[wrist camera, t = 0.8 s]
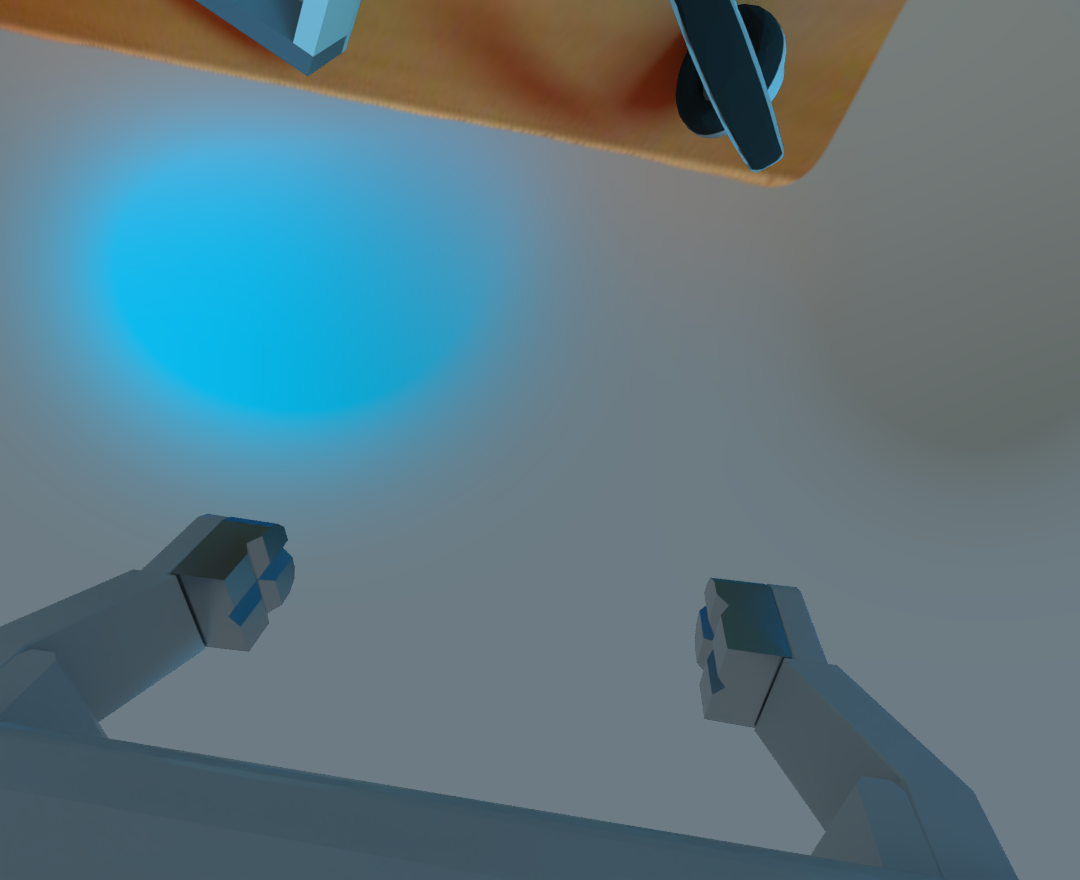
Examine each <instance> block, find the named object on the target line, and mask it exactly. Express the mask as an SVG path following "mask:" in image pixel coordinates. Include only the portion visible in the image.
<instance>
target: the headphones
mask: <svg viewBox="0 0 1080 880" xmlns="http://www.w3.org/2000/svg"><path fill="white" fill-rule="evenodd" d="M670 2H671V5H672V8H673V11H674V14H675V16H676V19H677V21H678V24H679V27H680V29H681V32H682V35H683V37H684V40H685V43H686V45H687V48H688V51H687V54H686V56H685V58H684V60H683V62H682V66H681V69H680V72H679V75H678V81H677V88H676V104H677V108H678V112H679V115H680V117H681V119H682V120H683V122H684V123H685V124H686V126H687V128H688V129H689V130H691V131H692V132H694V133H695V134H697V135H698V136H700V137H704V138H717V137H721V136H724V135H726V134H728V136H729V138H730V140H731V141H732V143H733V145H734V146H735V148H736V150H737V151H738V153H739V154H740V156H741V157H742V159H743V161H744V162H745V164H746V165H747V167H748V168H749V169H750V170H751V171H753V172H759V171H761V170H764V169H766V168H767V167H769V166H771V165H773V164H774V163H776V162H777V161H779V160H781V159H782V158H783V154H784V149H783V144H782V140H781V136H780V132H779V128H778V125H777V121H776V118H775V114H774V111H773V107H772V103H771V101H772V100H773V99H774V97H775V96H776V94H777V92H778V90H779V88H780V86H781V84H782V81H783V76H784V62H785V55H786V42H785V36H784V33H783V31H782V28H781V26H780V24H779V23H778V22H777V20H776V19H775V18H774V17H773V16H772V14H771V13H769V12H768V11H766V10H765V9H763V8H761V7H760V6H756V5H748V4H741V5H737V4H736V1H735V0H670Z"/></svg>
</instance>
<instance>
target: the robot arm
mask: <svg viewBox="0 0 1080 880" xmlns="http://www.w3.org/2000/svg"><path fill="white" fill-rule="evenodd" d="M287 541H288V538H287V535H286V532H285V528H284V527H283V526H281V525H279V524H275V523H269V522H262V521H255V520H248V519H242V518H236V517H224V516H218V515H212V514H205V515H202V516H199V517H198V518H196V519H195V520H194V521H193V522H192V523H191V524H190V525H189V526H188V527H187V528H186V529H185V530H184V531H183V532H181V533H180V534H179V535H178V536H177V537H176V538H175V539H174V540H173V541H172V542H171V543H170V544H169V545H168V546H167V547H165V548H164V550H162V551H161V552H160V553H159V554H158V555H157V556H156V557H155V558H154V559H153V560H152V561H151V562H150V563H149V564H147V565H146V566H145V567H144V568H143V569H142V570H131V571H129V572H127V573H124V574H122V575H120V576H117V577H115V578H113V579H110V580H108V581H105V582H103V583H101V584H98V585H96V586H94V587H92V588H89V589H87V590H85V591H82V592H80V593H78V594H75V595H73V596H71V597H68V598H66V599H64V600H61V601H59V602H57V603H54V604H52V605H50V606H47V607H45V608H43V609H40V610H38V611H36V612H34V613H31V614H29V615H26V616H24V617H22V618H19V619H17V620H15V621H12V622H10V623H8V624H5V625H3V626H1V627H0V880H1018V878H1017V876H1016V874H1015V872H1014V870H1013V868H1012V866H1011V864H1010V862H1009V860H1008V858H1007V856H1006V854H1005V852H1004V850H1003V848H1002V846H1001V844H1000V843H999V840H998V838H997V837H996V834H995V833H994V831H993V829H992V827H991V825H990V823H989V821H988V819H987V817H986V815H985V813H984V811H983V809H982V807H981V805H980V803H979V801H978V800H977V797H976V795H975V793H974V792H973V790H972V789H971V788H969V787H968V786H967V785H966V784H965V783H964V782H963V781H962V780H961V779H960V778H959V777H957V776H956V775H955V774H954V773H953V772H952V771H951V770H950V769H949V768H948V767H947V766H946V765H944V764H943V763H942V762H941V761H940V760H939V759H938V758H937V757H936V756H935V755H934V754H932V752H930V751H929V750H928V749H927V748H926V747H925V746H924V745H923V744H922V743H921V742H920V741H918V740H917V739H916V738H915V737H914V736H913V735H912V734H911V733H910V732H909V731H908V730H907V729H905V728H904V727H903V726H902V725H901V724H900V723H899V722H898V721H897V720H896V719H895V718H894V717H892V716H891V715H890V714H889V713H888V712H887V711H886V710H885V709H884V708H882V706H881V705H879V704H878V703H877V702H876V701H875V700H874V699H873V698H872V697H871V696H870V695H869V694H868V693H866V692H865V691H864V690H863V689H862V688H861V687H860V686H859V685H858V684H857V683H856V682H855V681H853V680H852V679H851V678H850V677H849V676H848V675H847V674H846V673H845V672H843V670H841V669H840V668H839V667H838V666H837V665H831V664H828V663H827V660H826V658H825V655H824V652H823V649H822V647H821V644H820V642H819V639H818V636H817V633H816V631H815V628H814V626H813V623H812V620H811V617H810V615H809V612H808V609H807V607H806V605H805V602H804V599H803V596H802V593H801V592H800V590H799V589H798V588H797V587H790V586H781V585H772V584H767V585H766V584H760V583H751V582H744V581H735V580H726V579H718V578H710V579H709V581H708V583H707V586H706V589H705V593H704V594H705V600H706V606H705V607H704V608H702V609H701V610H700V611H699V616H698V619H697V624H696V635H695V648H696V649H695V650H696V659H697V663H698V664H699V666H700V667H701V668H702V669H703V670H704V671H703V675H702V678H701V682H700V690H701V697H702V704H703V712H704V719H708V720H714V721H719V722H725V723H731V724H736V725H742V726H748V727H753V728H755V732H756V733H757V735H758V736H759V737H760V739H761V740H762V742H763V743H764V744H765V746H766V747H767V749H768V750H769V752H770V753H771V754H772V756H773V757H774V759H775V760H776V761H777V763H778V764H779V766H780V767H781V768H782V770H783V771H784V773H785V774H786V776H787V777H788V778H789V780H790V781H791V783H792V784H793V785H794V787H795V788H796V790H797V791H798V793H799V794H800V795H801V797H802V798H803V800H804V801H805V803H806V804H807V805H808V807H809V808H810V810H811V811H812V813H813V814H814V815H815V817H816V818H817V820H818V821H819V822H820V824H821V825H822V827H823V828H824V830H825V831H826V832H825V834H824V835H823V837H822V838H821V840H820V841H819V843H818V845H817V846H816V848H815V849H814V851H813V853H812V854H811V856H810V855H804V854H798V853H792V852H786V851H780V850H774V849H768V848H762V847H756V846H750V845H744V844H738V843H732V842H726V841H719V840H714V839H708V838H701V837H696V836H690V835H684V834H678V833H672V832H666V831H660V830H654V829H648V828H642V827H636V826H630V825H624V824H618V823H612V822H605V821H600V820H593V819H588V818H582V817H576V816H570V815H564V814H558V813H552V812H546V811H540V810H534V809H528V808H522V807H516V806H510V805H504V804H498V803H492V802H485V801H480V800H474V799H468V798H462V797H456V796H450V795H444V794H438V793H431V792H426V791H420V790H414V789H408V788H402V787H396V786H390V785H384V784H378V783H372V782H366V781H360V780H354V779H347V778H342V777H336V776H330V775H324V774H318V773H311V772H306V771H300V770H293V769H287V768H282V767H276V766H270V765H263V764H258V763H252V762H246V761H240V760H233V759H227V758H221V757H215V756H210V755H204V754H198V753H192V752H186V751H180V750H174V749H168V748H162V747H156V746H150V745H144V744H138V743H132V742H126V741H120V740H113V739H108V737H107V735H106V734H105V732H104V731H103V729H102V727H101V726H100V724H99V723H98V722H99V721H101V720H102V719H104V718H105V717H107V716H108V715H110V714H111V713H112V712H114V711H115V710H117V709H118V708H120V707H121V706H123V705H124V704H126V703H127V702H129V701H130V700H131V699H133V698H134V697H136V696H137V695H139V694H140V693H142V692H143V691H145V690H146V689H147V688H149V687H150V686H152V685H153V684H155V683H156V682H158V681H159V680H161V679H162V678H163V677H165V676H166V675H168V674H169V673H171V672H172V671H174V670H175V669H177V668H178V667H180V666H181V665H182V664H184V663H185V662H187V661H188V660H190V659H191V658H193V657H194V656H196V655H197V654H199V653H200V652H201V651H203V650H204V649H205V646H206V647H214V648H223V649H232V650H240V651H250V649H251V648H252V646H253V645H254V643H255V642H256V641H257V639H258V638H259V636H260V635H261V633H262V632H263V631H264V629H265V628H266V626H267V625H268V624H269V620H268V612H270V611H272V610H273V609H275V608H277V607H279V606H280V605H282V603H283V602H284V600H285V599H286V597H287V596H288V594H289V593H290V590H291V587H292V584H293V580H294V570H295V566H294V562H293V558H292V557H291V555H290V554H289V553H288V552H287V551H286V550H285V549H284V548H283V546H284V545H285V543H286V542H287Z"/></svg>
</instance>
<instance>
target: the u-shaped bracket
mask: <svg viewBox="0 0 1080 880" xmlns="http://www.w3.org/2000/svg"><path fill="white" fill-rule="evenodd" d="M195 1H197V2H198V3H200V4H201V5H203V6H204V7H206V8H207V9H209V10H210V11H212V12H213V13H215V14H216V15H218V16H219V17H221V18H222V19H224V20H225V21H227V22H228V23H229V24H231V25H232V26H234V27H235V28H237V29H238V30H240V31H241V32H243V33H244V34H246V35H247V36H249V37H250V38H252V39H253V40H255V41H256V42H258V43H259V44H261V45H262V46H264V47H265V48H267V49H268V50H269V51H271V52H272V53H274V54H275V55H277V56H278V57H280V58H281V59H283V60H284V61H286V62H287V63H289V64H290V65H292V66H293V67H295V68H296V69H298V70H299V71H301V72H302V73H304V74H305V75H306V76H309V75H310V74H312V73H313V72H315V71H316V70H318V69H319V68H321V67H322V66H323V65H325V64H326V63H328V62H329V61H331V60H332V59H334V58H335V57H336V56H338V55H339V54H341V53H342V52H344V51H345V50H346V47H347V44H348V41H349V38H350V34H351V31H352V28H353V25H354V22H355V18H356V15H357V12H358V9H359V5H360V2H361V0H195Z"/></svg>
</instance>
